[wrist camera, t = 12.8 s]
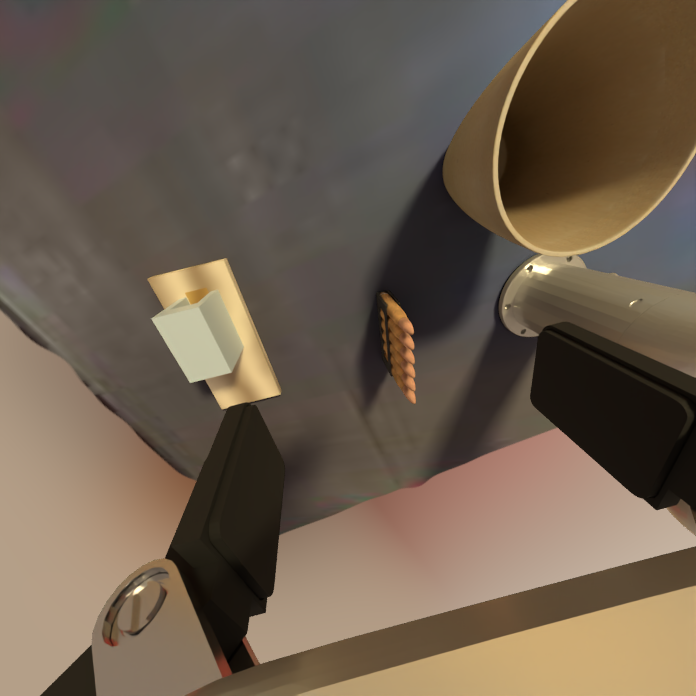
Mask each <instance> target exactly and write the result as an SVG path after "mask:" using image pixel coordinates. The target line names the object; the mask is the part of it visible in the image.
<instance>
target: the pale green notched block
mask: <svg viewBox="0 0 696 696" xmlns="http://www.w3.org/2000/svg"><path fill="white" fill-rule="evenodd" d="M152 321H153V322H154V324H155V326H156V327H157V329H158V331H159V332H160V334H161V335H162V337H163V339H164V340H165V342H166V344H167V345H168V347H169V349H170V350H171V352H172V354H173V355H174V357H175V359H176V360H177V362H178V364H179V365H180V367H181V368H182V370H183V372H184V373H185V375H186V377H187V378H188V380H189V382H190V383H192V382H196V381H200V380H204V379H208V378H212V377H216V376H220V375H224V374H228V373H232V371H233V369H234V367H235V364H236V362H237V360H238V358H239V356H240V354H241V352H242V350H243V348H244V346H243V344H242V341H241V339H240V337H239V335H238V333H237V330H236V328H235V326H234V324H233V322H232V319H231V317H230V315H229V313H228V311H227V308H226V306H225V304H224V302H223V299H222V297H221V295H220V293H219V291H218V290H214V291H211V292H209V293H208V294H207V295H206V296H205V297H204V298H202V299H201V300H200V301H199V302H198V303H195V304H191V305H190V303H189V301H188V300H187V298H182V299H179V300H177V301H176V302H174V303H173V304H172V305H170V306H169V307H167V308H166V309H164V310H163V311H162V312H160V313H159V314H157V315H156V316H154V317H153V318H152Z"/></svg>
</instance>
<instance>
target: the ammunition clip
mask: <svg viewBox="0 0 696 696" xmlns="http://www.w3.org/2000/svg"><path fill="white" fill-rule="evenodd" d="M376 296H377V307H378V318H379V329H380V339H381V350H382V360H383V361H384V363H385V365H386V367H387V369H388V371H389V373H390V375H391V376H393V377H394V379H395V381H396V383H397V385H398V386H399V387H400V388H401V390H402V391H403V393H404V395H405V396H406V398H407V399H408V400H409V401H410V402H411V403H413V404H415V403H416V398H415V394H414V391H415V383H414V380H413V378H415V371H414V368H413V366H412V364H414V363H415V359H414V355H413V353H412V351H411V350H414V342H413V340H412V338H411V336H410V335H413V334H414V329H413V326H412V324H411V322H410V321H409V319H408V318H407V316H406V313H405V312H404V311H403V310H402V309H401V304H400V302H399V301H398V300H397V299H396V298H395V296H394V295H393V294H392V293H391V292H390V291H389V290H388V291H382V292H377V293H376ZM409 334H410V335H409Z"/></svg>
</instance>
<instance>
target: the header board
mask: <svg viewBox="0 0 696 696" xmlns="http://www.w3.org/2000/svg"><path fill="white" fill-rule="evenodd" d="M148 281H149V283H150V285H151V286H152V288H153V290H154V292H155V293H156V295H157V297H158V299H159V300H160V302H161V304H162V306H163V307H164V309H166V308H167V307H169V306H170V305H172V304H173V303H174V302H176V301H177V300H179V299H182V298H187V300H188V301H189V303H190V305H191V304H195V303H198V302H199V301H200V300H201V299H202V298H204V297H205V296H206V295H207V294H208V293H209V292H211V291H214V290H218V291H219V293H220V295H221V297H222V299H223V302H224V304H225V306H226V308H227V311H228V313H229V315H230V317H231V319H232V322H233V324H234V326H235V328H236V330H237V333H238V335H239V337H240V339H241V341H242V344H243V346H244V348H243V350H242V352H241V354H240V356H239V358H238V360H237V362H236V364H235V367H234V369H233V371H232V373H228V374H224V375H220V376H216V377H212V378H208V379H205V381H206V382H207V384H208V386H209V388H210V389H211V391H212V393H213V394H214V396H215V398H216V400H217V401H218V403H219V405H220V407H221V408H222V409H226V408H228V407H230V406H233V405H237V404H241V403H245V402H253V401H257V400H261V399H265V398H269V397H273V396H277V395H281V388H280V385H279V383H278V381H277V378H276V376H275V373H274V371H273V369H272V366H271V364H270V362H269V359H268V357H267V354H266V352H265V350H264V347H263V345H262V342H261V340H260V338H259V335H258V333H257V330H256V328H255V326H254V323H253V321H252V318H251V316H250V314H249V311H248V309H247V306H246V304H245V302H244V299H243V297H242V294H241V292H240V290H239V287H238V285H237V282H236V280H235V278H234V275H233V273H232V271H231V268H230V266H229V263H228V261H227V259H226V258H225V259H221V260H217V261H213V262H209V263H205V264H201V265H197V266H193V267H189V268H185V269H181V270H177V271H173V272H169V273H165V274H161V275H156V276H152V277H150V278H148Z"/></svg>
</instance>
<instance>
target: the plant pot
mask: <svg viewBox="0 0 696 696" xmlns="http://www.w3.org/2000/svg"><path fill="white" fill-rule="evenodd" d="M695 153H696V0H567V2H566V3H565V4H564V5H563V6H562V7H561V8H560V9H559V10H558V11H557V12H556V13H555V14H554V15H553V16H552V17H551V18H550V19H549V20H548V21H547V22H546V23H545V24H544V25H543V26H542V27H541V28H540V29H539V30H538V31H537V32H536V33H535V34H534V35H533V36H532V37H531V38H530V39H529V41H528V42H527V43H526V44H525V45H524V46H523V47H522V48H521V49H520V50H519V51H518V52H517V53H516V54H515V55H514V56H513V57H512V58H511V59H510V61H509V62H508V63H507V64H506V65H505V66H504V67H503V69H502V70H501V71H500V72H499V73H498V74H497V76H496V77H495V78H494V79H493V80H492V82H491V83H490V84H489V85H488V87H487V88H486V89H485V90H484V92H483V93H482V94H481V96H480V97H479V98H478V100H477V101H476V102H475V104H474V105H473V106H472V108H471V109H470V111H469V112H468V114H467V115H466V117H465V118H464V120H463V121H462V123H461V124H460V126H459V128H458V130H457V131H456V133H455V135H454V137H453V139H452V141H451V143H450V145H449V147H448V149H447V152H446V155H445V158H444V162H443V180H444V184H445V187H446V189H447V191H448V193H449V194H450V196H451V197H452V199H453V200H454V201H455V202H456V204H457V205H458V206H459V207H460V208H461V209H462V210H463V211H464V212H465V213H466V214H467V215H469V216H470V217H471V218H472V219H474V220H475V221H476V222H478V223H479V224H481V225H482V226H483V227H485V228H487V229H488V230H490V231H491V232H493V233H495V234H497V235H499V236H501V237H503V238H505V239H507V240H509V241H511V242H513V243H515V244H518V245H520V246H522V247H524V248H527V249H529V250H531V251H534V252H536V253H539V254H542V255H546V256H554V257H566V256H573V255H579V254H583V253H587V252H590V251H593V250H595V249H598V248H600V247H602V246H604V245H606V244H608V243H610V242H612V241H614V240H615V239H617V238H619V237H620V236H622V235H623V234H625V233H626V232H628V231H629V230H630V229H632V228H633V227H634V226H635V225H637V224H638V223H639V222H640V221H642V220H643V219H644V218H645V217H646V216H647V215H648V214H649V213H650V212H651V211H652V210H653V209H654V208H655V207H656V206H657V205H658V204H659V203H660V202H661V201H662V200H663V198H664V197H665V196H666V195H667V194H668V192H669V191H670V190H671V189H672V187H673V186H674V185H675V184H676V182H677V181H678V179H679V178H680V177H681V175H682V174H683V172H684V171H685V169H686V168H687V166H688V165H689V163H690V162H691V160H692V158H693V156H694V155H695Z"/></svg>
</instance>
